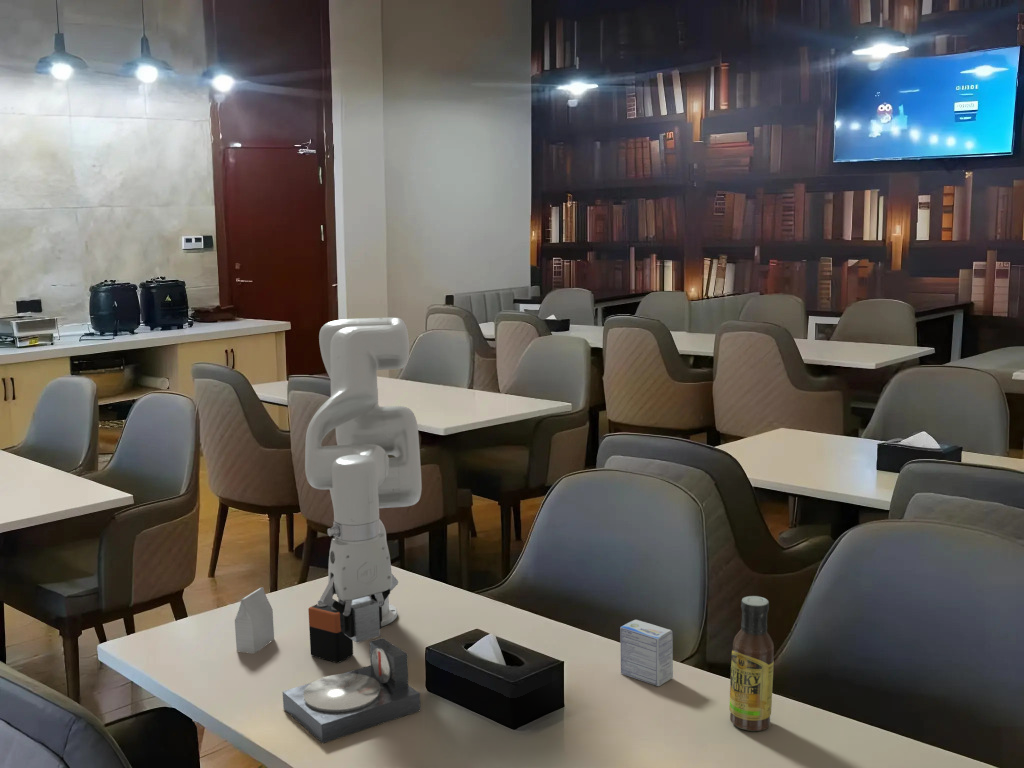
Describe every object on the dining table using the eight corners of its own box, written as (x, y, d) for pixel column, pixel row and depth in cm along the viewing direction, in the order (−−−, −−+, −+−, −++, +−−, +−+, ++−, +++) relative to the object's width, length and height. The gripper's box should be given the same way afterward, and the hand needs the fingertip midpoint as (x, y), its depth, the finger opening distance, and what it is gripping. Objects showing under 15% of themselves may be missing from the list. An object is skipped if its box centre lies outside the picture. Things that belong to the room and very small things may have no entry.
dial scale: (283, 709, 170) (280, 657, 168) (377, 680, 179) (375, 631, 178) (322, 743, 158) (319, 688, 157) (420, 710, 168) (418, 658, 167)
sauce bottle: (721, 723, 162) (722, 599, 159) (744, 710, 166) (747, 588, 163) (756, 738, 157) (759, 610, 154) (780, 724, 162) (783, 599, 158)
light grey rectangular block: (344, 633, 182) (342, 601, 181) (367, 627, 185) (366, 594, 184) (356, 642, 179) (355, 609, 178) (380, 635, 181) (378, 602, 180)
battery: (338, 664, 186) (335, 609, 184) (309, 656, 190) (306, 602, 188) (354, 655, 190) (352, 601, 188) (326, 647, 193) (323, 595, 192)
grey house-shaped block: (274, 639, 198) (271, 588, 196) (254, 653, 191) (251, 600, 190) (257, 637, 199) (253, 586, 197) (236, 651, 192) (233, 598, 191)
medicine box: (673, 679, 178) (673, 630, 176) (658, 688, 174) (658, 638, 173) (635, 666, 183) (635, 618, 182) (619, 674, 180) (619, 626, 178)
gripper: (321, 545, 170) (326, 651, 174) (412, 524, 180) (415, 625, 184) (301, 533, 176) (307, 636, 180) (390, 513, 186) (394, 611, 190)
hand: (361, 629), depth 182 cm, fingers closed on light grey rectangular block, 4 cm apart
